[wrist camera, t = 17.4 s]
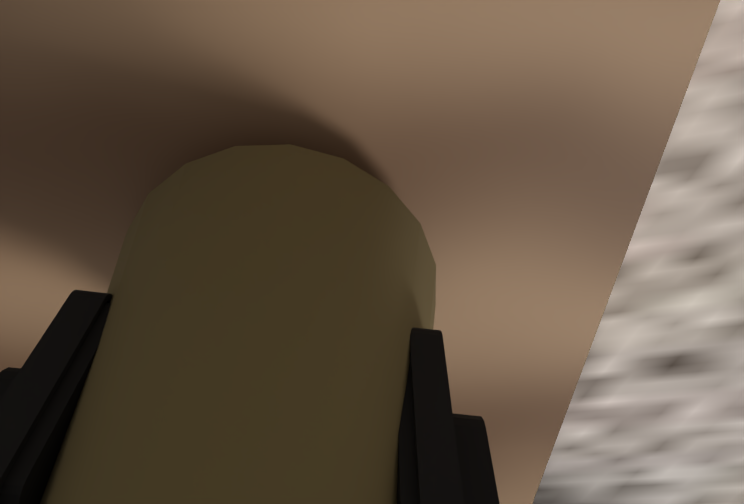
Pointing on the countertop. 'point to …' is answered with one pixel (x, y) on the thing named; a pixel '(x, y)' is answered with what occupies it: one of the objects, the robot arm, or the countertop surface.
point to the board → (363, 156)
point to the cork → (253, 339)
